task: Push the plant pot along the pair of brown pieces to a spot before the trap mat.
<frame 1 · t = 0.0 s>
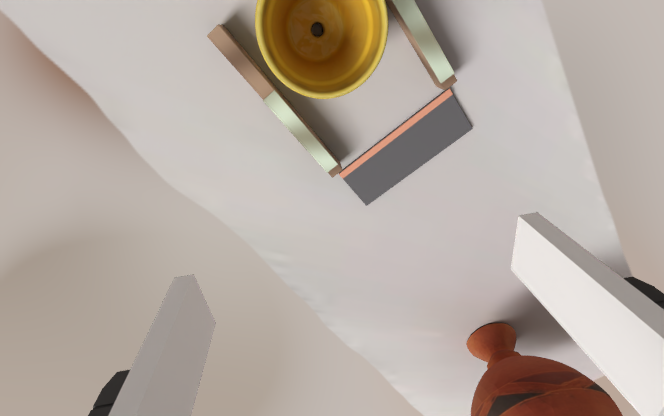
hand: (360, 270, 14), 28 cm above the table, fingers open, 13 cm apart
trap mat: (404, 150, 41), on the table
goblet: (488, 338, 60), on the table
plant pot: (316, 28, 34), on the table
pair of brown pieces: (345, 69, 36), on the table
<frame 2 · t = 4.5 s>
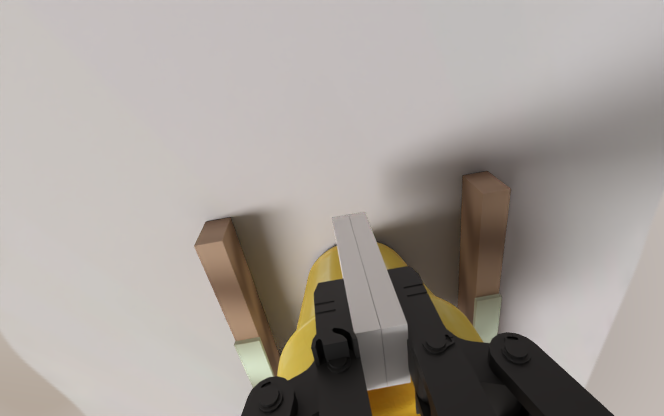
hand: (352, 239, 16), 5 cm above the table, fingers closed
plant pot: (357, 276, 23), on the table, touching gripper
pair of brown pieces: (366, 324, 25), on the table
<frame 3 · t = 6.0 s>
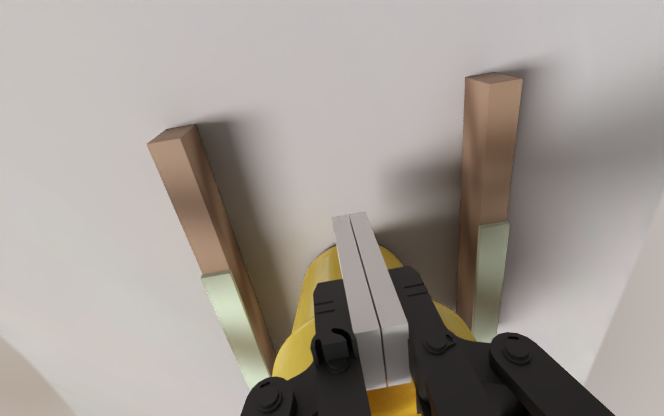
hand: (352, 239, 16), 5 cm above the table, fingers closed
plant pot: (354, 277, 23), on the table, touching gripper
pair of brown pieces: (355, 268, 22), on the table
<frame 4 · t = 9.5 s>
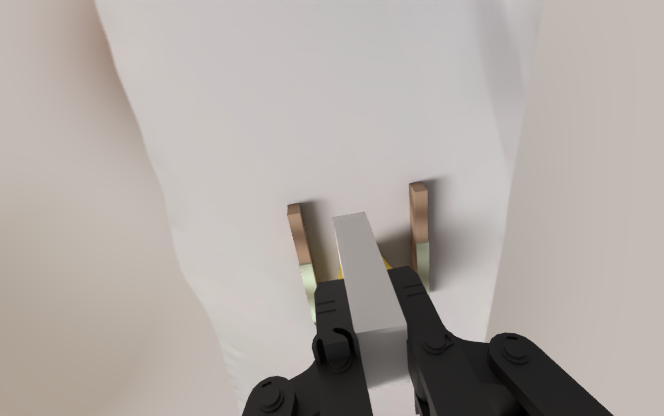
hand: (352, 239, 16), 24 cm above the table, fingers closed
pair of brown pieces: (363, 261, 47), on the table
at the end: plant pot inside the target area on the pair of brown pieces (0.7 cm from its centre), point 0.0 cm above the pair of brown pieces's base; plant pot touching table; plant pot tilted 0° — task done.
